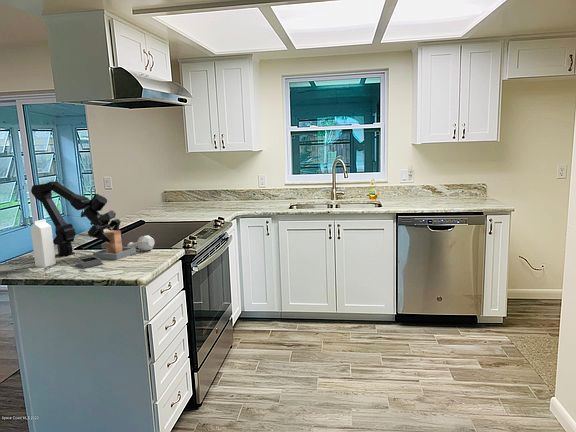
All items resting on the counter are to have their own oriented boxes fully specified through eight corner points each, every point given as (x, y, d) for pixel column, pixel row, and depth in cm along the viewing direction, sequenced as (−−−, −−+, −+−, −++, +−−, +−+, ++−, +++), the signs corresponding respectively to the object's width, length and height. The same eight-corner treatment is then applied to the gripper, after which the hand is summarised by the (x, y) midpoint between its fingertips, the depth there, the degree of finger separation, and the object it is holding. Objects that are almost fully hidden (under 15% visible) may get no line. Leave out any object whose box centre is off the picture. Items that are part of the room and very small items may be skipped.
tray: (93, 259, 211) (93, 252, 210) (113, 252, 224) (113, 246, 223) (117, 261, 206) (116, 254, 206) (136, 254, 219) (135, 247, 219)
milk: (35, 268, 199) (29, 221, 196) (46, 264, 205) (40, 218, 202) (45, 268, 198) (39, 221, 194) (56, 265, 203) (50, 219, 200)
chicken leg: (137, 247, 238) (129, 235, 235) (160, 244, 229) (152, 231, 226) (127, 256, 232) (119, 244, 229) (150, 253, 223) (142, 240, 219)
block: (107, 256, 213) (105, 232, 211) (114, 253, 218) (111, 230, 216) (116, 256, 212) (114, 232, 210) (122, 254, 217) (120, 230, 215)
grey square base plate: (74, 266, 199) (73, 259, 199) (96, 262, 206) (95, 255, 206) (82, 270, 192) (81, 263, 192) (104, 265, 199) (104, 259, 198)
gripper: (90, 209, 203) (112, 232, 202) (115, 203, 221) (136, 225, 220) (78, 225, 206) (100, 248, 205) (104, 218, 224) (124, 239, 223)
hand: (116, 239), depth 213 cm, fingers open, 9 cm apart
